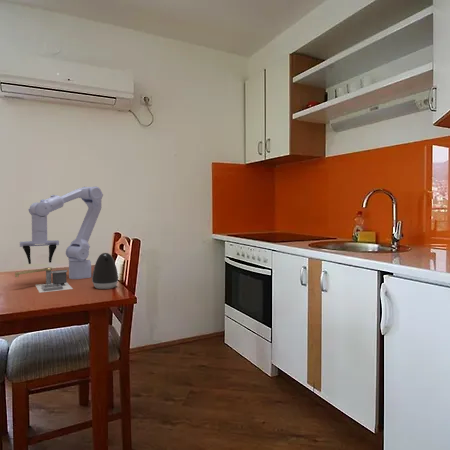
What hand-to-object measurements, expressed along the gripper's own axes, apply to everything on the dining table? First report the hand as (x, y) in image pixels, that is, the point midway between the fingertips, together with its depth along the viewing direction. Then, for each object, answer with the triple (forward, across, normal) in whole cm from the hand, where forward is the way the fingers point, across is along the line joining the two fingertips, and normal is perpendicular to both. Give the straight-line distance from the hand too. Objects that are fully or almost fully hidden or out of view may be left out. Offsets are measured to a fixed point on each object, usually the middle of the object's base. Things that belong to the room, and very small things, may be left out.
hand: (40, 262), depth 148 cm
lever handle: (+4, +2, +4) cm, 6 cm away
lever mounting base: (+10, -4, +8) cm, 14 cm away
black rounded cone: (+10, -22, +19) cm, 31 cm away
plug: (+8, -6, +7) cm, 12 cm away
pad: (+9, -6, +6) cm, 13 cm away
